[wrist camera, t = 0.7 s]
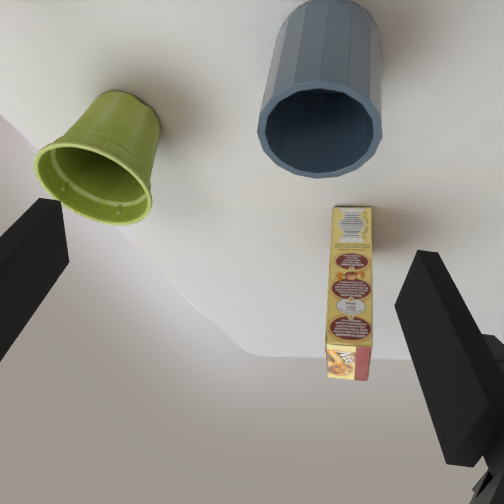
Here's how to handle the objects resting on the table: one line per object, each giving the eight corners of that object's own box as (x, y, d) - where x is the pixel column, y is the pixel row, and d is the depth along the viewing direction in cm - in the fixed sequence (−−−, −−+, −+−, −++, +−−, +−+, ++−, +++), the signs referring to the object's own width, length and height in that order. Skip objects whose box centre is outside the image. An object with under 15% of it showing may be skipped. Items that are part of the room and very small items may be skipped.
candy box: (331, 205, 45) (321, 344, 37) (374, 205, 44) (373, 348, 36) (334, 253, 52) (325, 378, 44) (370, 254, 51) (369, 383, 43)
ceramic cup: (285, -14, 28) (266, 69, 23) (397, 8, 28) (402, 95, 23) (269, 84, 34) (251, 166, 29) (361, 102, 34) (358, 187, 29)
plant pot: (102, 156, 44) (69, 223, 40) (55, 73, 37) (8, 144, 32) (189, 157, 42) (166, 227, 38) (159, 70, 35) (124, 144, 30)
